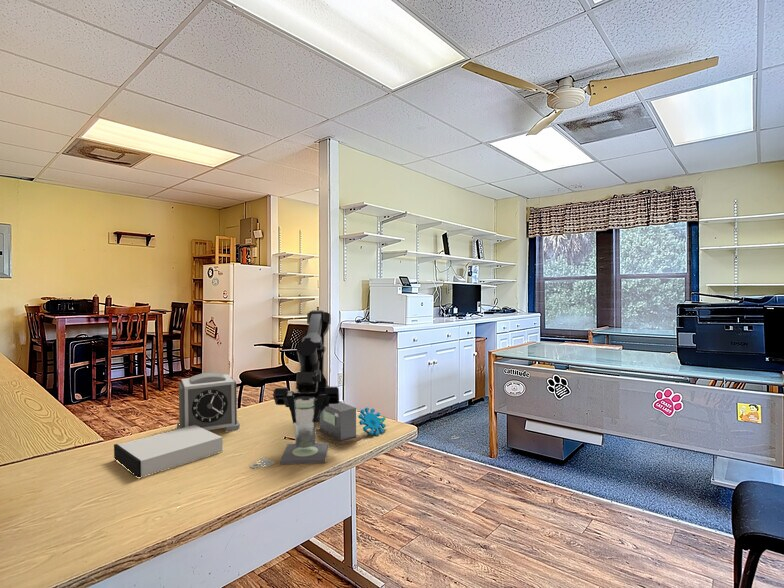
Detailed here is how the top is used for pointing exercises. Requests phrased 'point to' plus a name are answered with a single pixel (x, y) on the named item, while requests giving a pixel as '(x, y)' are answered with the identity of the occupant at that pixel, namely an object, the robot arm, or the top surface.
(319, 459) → the pad
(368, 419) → the gear
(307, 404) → the canister
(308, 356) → the robot arm
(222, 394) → the alarm clock
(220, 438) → the disc drive
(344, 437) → the control unit
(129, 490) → the top surface
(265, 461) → the mounting bracket
